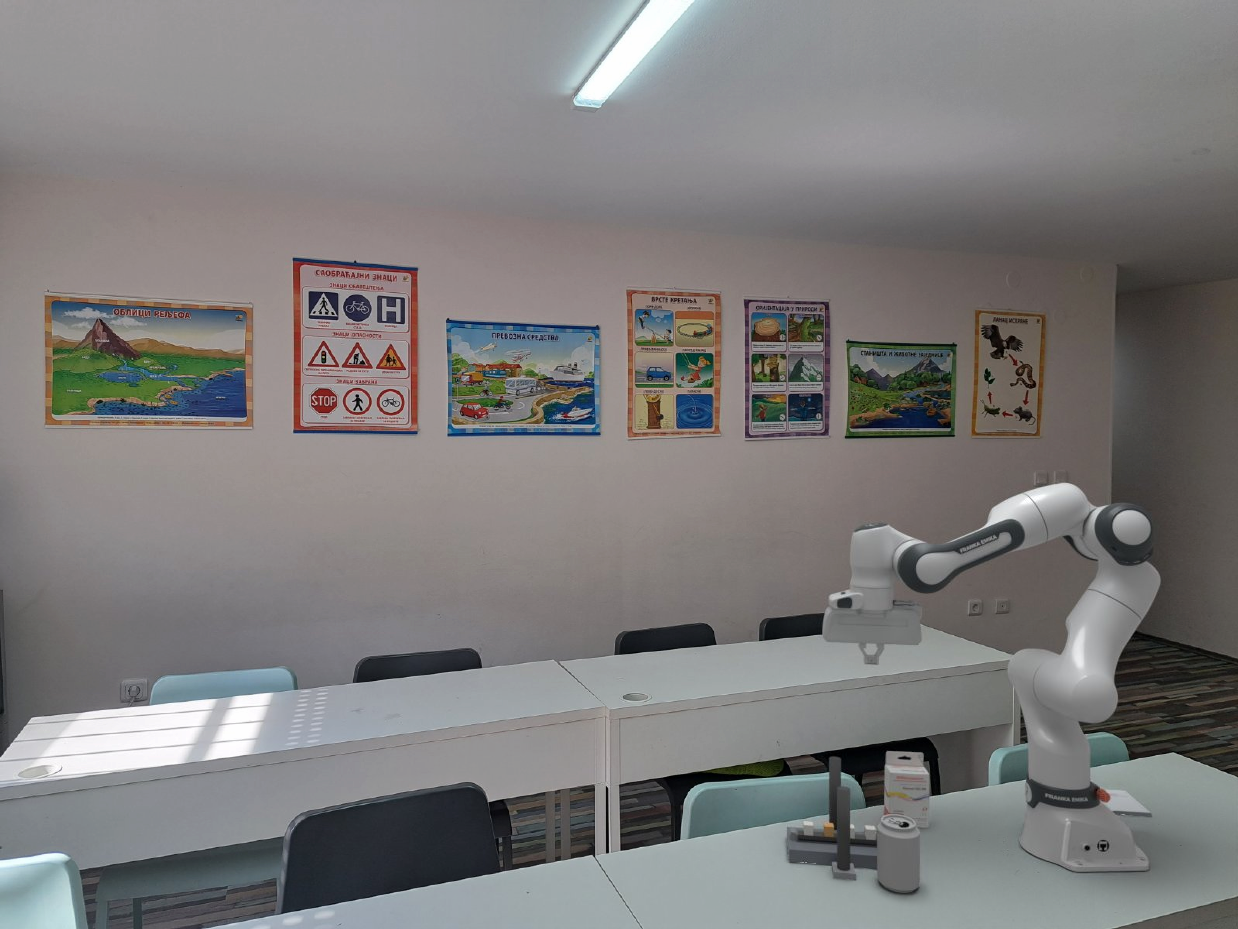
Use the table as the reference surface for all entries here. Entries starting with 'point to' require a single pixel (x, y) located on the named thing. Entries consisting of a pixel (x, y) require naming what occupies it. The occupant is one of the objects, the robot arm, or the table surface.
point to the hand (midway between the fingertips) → (871, 664)
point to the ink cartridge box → (907, 787)
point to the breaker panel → (828, 850)
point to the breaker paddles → (831, 836)
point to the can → (898, 853)
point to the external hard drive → (1125, 804)
